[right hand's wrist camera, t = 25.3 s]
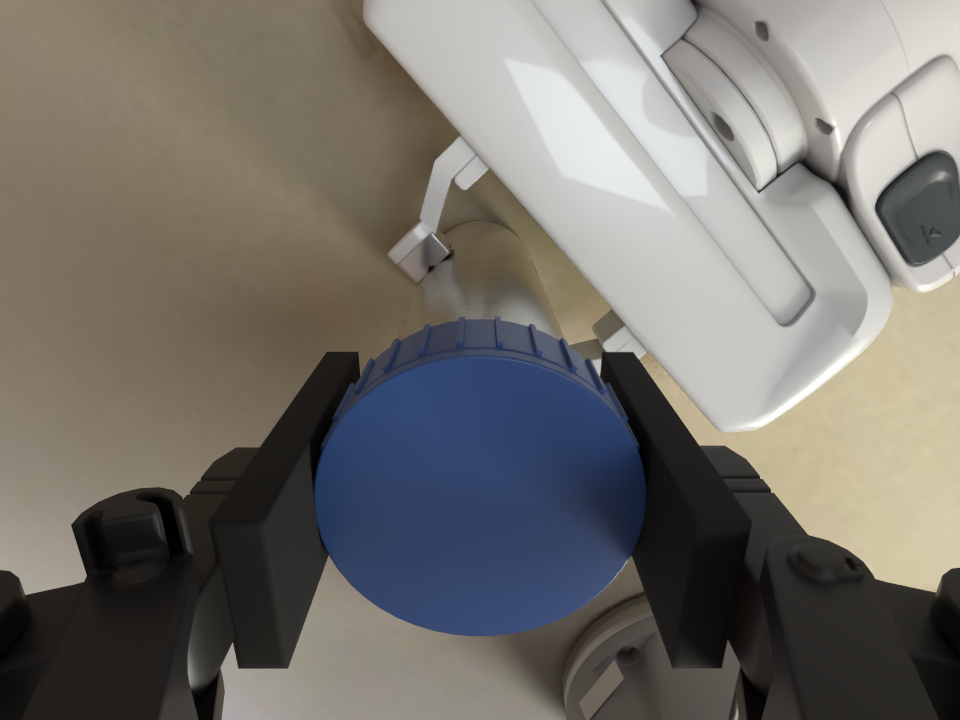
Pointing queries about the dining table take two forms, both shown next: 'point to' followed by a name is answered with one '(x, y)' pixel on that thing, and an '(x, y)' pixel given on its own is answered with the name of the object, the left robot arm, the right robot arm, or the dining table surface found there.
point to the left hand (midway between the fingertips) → (463, 329)
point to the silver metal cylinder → (481, 283)
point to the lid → (480, 480)
